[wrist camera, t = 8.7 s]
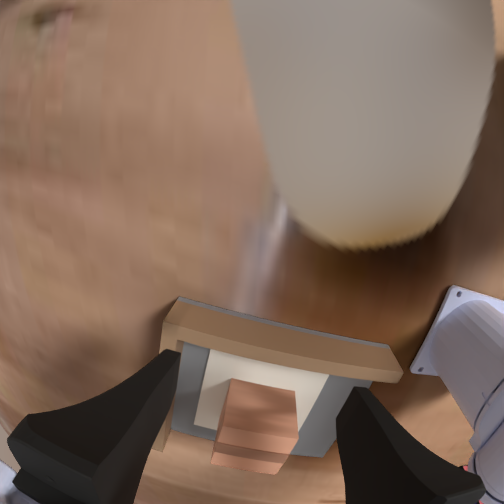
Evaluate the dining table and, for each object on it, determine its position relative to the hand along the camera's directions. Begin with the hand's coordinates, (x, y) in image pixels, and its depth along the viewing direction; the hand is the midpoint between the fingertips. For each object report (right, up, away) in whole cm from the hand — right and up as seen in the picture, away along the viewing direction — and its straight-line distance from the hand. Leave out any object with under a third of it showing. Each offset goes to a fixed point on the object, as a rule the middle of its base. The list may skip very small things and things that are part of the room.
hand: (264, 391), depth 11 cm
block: (0, -7, +11) cm, 13 cm away
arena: (+1, -6, +12) cm, 13 cm away
